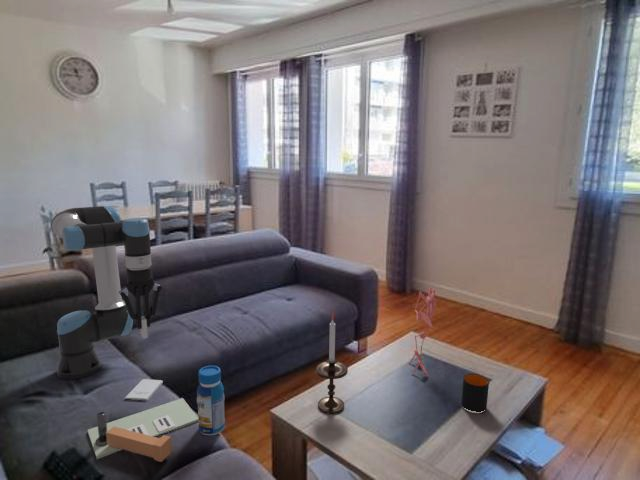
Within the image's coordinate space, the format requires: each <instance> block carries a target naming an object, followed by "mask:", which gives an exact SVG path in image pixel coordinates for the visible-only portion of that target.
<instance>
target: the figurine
mask: <svg viewBox="0 0 640 480" xmlns="http://www.w3.org/2000/svg"><path fill="white" fill-rule="evenodd" d="M418 293H419V294H418V298H417V301H416V305H415V308H414V312H415V313H416V324H418V323H419V320H420V318H421V319H422V321H423V322H424V323H425V324H424V329H423V331H420V332H419V334H417V335H414V340H415V349H416V350H414V352H413V353H414V355H413V356H412V358H411V359H410V361H409V362H411V363H412V362H413V360H414V359H415V357H417V359H418V360H417V362H418V364H417V365H416V367H415V368H414V370H413V371H412V373H414V374H415V372H416V371H417V369H418V367H420V368H421V370H422V372H424V374H425V375H426V376H428V377H429V374H428V372H427V369H426V368H425V366H424V365H423V363H422V361H423V358H422V355H421V354H423V353H422V350H423V344H424V342H425V341H424V340H425V339H426V337H427V333H426V330H427V329H426V328H427V326H428V327H429V328H430V329H432V330H433V329H434V326H433V324H432V321H431V320H432V319H433V317H434V309H436V307H437V305H436V298H435V297H436V296H435V294H436V289H435V288H432V286H431V285H429V288H428V295H427V296H425V295H424V293H422V291H419V292H418ZM421 298H422V300H423V301H424V302H425V304H424V305H423V306H422V307H421V308H420V310H419V311H417V309H418V304H419V301H420V299H421ZM426 306H427V307H426ZM425 307H426V313H425V312H423V311H422V310H423V309H424V308H425ZM429 316H430V318H429ZM417 337H419V338H420V339H423V340H422V341H421V345H420V353H419V351H418V344H417Z"/></svg>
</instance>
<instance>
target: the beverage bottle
mask: <svg viewBox="0 0 640 480" xmlns="http://www.w3.org/2000/svg"><path fill="white" fill-rule="evenodd" d="M197 376H198V383H199V384H198V386H197V388H196V389H197V390H196V395H197V396H196V403H197V414H198V415H197V417H198V418H199V421H198V431H199V432H200V433H201V434H202V435H204V436H215V435H218V434H220V433H221V432H222V431H223V430H224V429H225V428H226V420H225V399H226V398H225V393H224V391H225V387H224V385H223V383H222V381H221V380H222V370H221V368H220V367H219V366H217V365H206V366H203V367H201V368H200V369H199V370H198V374H197Z"/></svg>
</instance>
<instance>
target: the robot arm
mask: <svg viewBox="0 0 640 480" xmlns="http://www.w3.org/2000/svg"><path fill="white" fill-rule="evenodd" d="M50 228H51V232H52V233H53V234H54V235H55V236H57V238H60V239H62V242H63V246H64V249H65V250H66V251H81V250H89V249H91V250H92V259H93V264H94V265H93V267H94V275H95V282H96V290H97V291H96V293H97V297H98V298H97V301H98V303H97V305H96V306H95V307H94V310H95V312H93V313H91V312H90V311H89V310H84V309H83V310H76V311H72V312H70V313H67V314H65V315H63V316H62V317H60V318H59V319H58V321H57V323H56V326H57V327H56V328H57V329H56V333H57V336H58V345H59V354H60V356H59V360H58V364H57V368H56V375H57V377H58V378H59V379H62V380H79V379H82V378H86V377H89V376H91V375H93V374H95V373H96V372H98V371H99V369H101V359H100V358H99V356H98V354H97V352H96V350H95V346H94V343H97V342H101V341H103V342H104V341H105V340H106V341H107V340H110V339H115V338H120V337H123V336H126V335H128V334H130V333H131V330H132V329H133V324H134V320H135V321H136V327H137V329H138V330H140V337H141V338H142V339H143V340H144V339H148V338H149V336H148V328H149V327H150V326H151V317H152V316H155V315H156V312H157V311H156V310H157V306H158V302H159V297H160V296H159V295H160V292H161V291H162V289H163V287H162V286H161V285H160V284H157V283H155V281H154V279H153V278H154V277H153V268H152V255H151V254H152V252H151V238H150V237H151V236H150V230H151V228H150V224H149V221H148V219H147V218H140V217H132V218H126V219H122V216H121V214H120V213H119V211H118V209H117V208H116V207H115V206H113V205H99V206H98V205H97V206H86V207H73V208H68V209H64V210H62V211H60V212H58V213H57V214H55V215H54V216H53V218H52V219H51V221H50ZM117 246H124V258H125V268H127V269H126V285H125V288H124V289H121V279H120V272H119V263H118V262H119V261H118V256H117V255H118V253H117ZM152 290H153V292H152V296H151V302H150V301H149V298H150V295H149V294H150V292H151V291H152ZM129 293H131V295H132V296H133V298H134V309H133V306H132V303H131V300H130V299H129ZM141 296H142V302H141ZM122 298H123V299H122ZM141 303H142V304H141ZM141 305H143V307H141ZM142 308H143V315H144V316H142ZM134 311H135V312H134Z"/></svg>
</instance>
